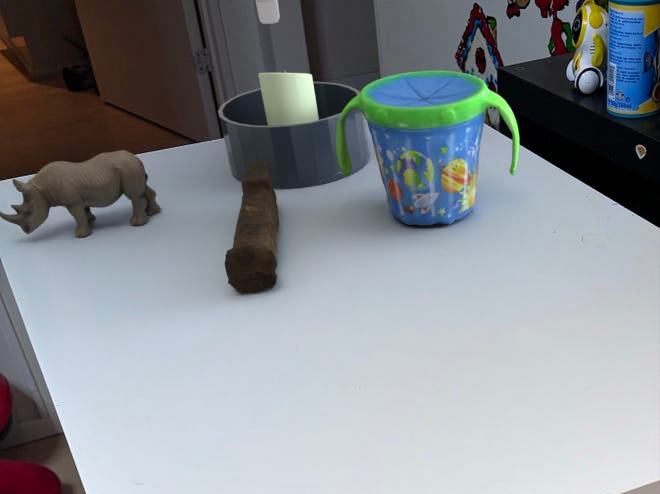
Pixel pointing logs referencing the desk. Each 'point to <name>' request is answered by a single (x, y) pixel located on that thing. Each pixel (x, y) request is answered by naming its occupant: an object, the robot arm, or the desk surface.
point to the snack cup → (427, 141)
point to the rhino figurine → (84, 191)
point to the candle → (288, 98)
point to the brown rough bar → (254, 234)
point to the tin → (294, 138)
